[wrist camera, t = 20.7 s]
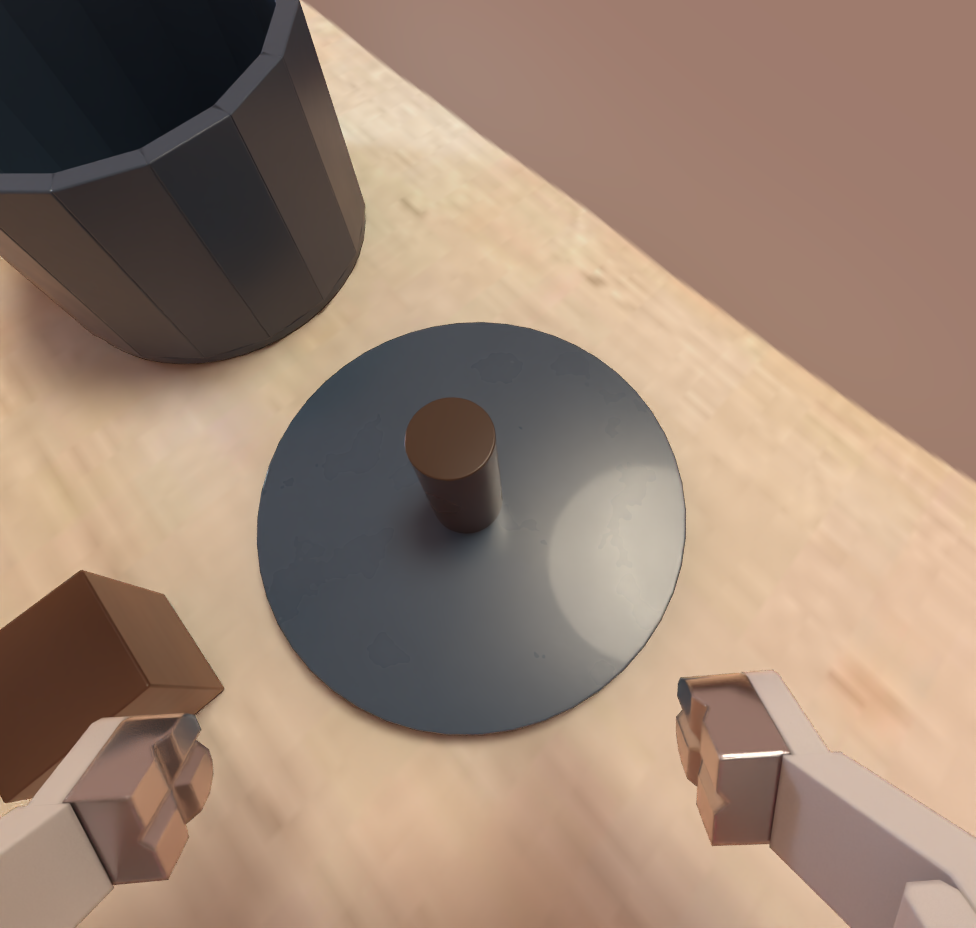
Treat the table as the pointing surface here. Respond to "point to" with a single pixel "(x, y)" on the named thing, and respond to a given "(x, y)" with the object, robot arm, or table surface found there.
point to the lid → (471, 528)
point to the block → (89, 672)
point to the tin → (174, 171)
